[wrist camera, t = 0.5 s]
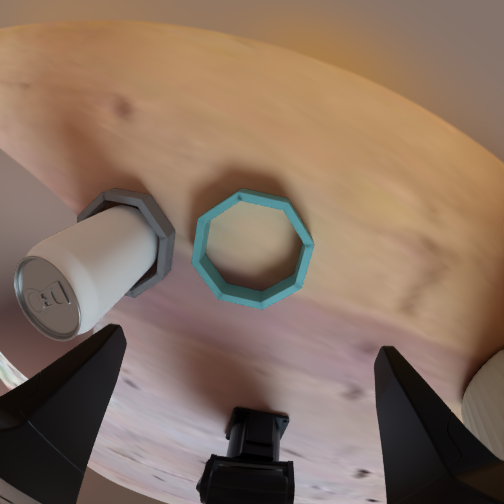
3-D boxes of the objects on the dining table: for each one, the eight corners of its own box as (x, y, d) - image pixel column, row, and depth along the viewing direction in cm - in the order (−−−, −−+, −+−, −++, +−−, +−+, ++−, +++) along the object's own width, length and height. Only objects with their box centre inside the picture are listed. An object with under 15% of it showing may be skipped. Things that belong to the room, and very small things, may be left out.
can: (88, 218, 26) (-4, 265, 15) (143, 193, 25) (51, 233, 13) (116, 280, 28) (42, 351, 16) (172, 262, 26) (105, 340, 15)
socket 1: (168, 295, 28) (160, 305, 26) (88, 271, 28) (77, 279, 26) (179, 200, 25) (171, 205, 23) (91, 183, 25) (78, 187, 23)
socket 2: (292, 304, 27) (293, 316, 25) (193, 281, 27) (187, 291, 25) (320, 206, 24) (323, 211, 22) (209, 181, 24) (203, 184, 22)
